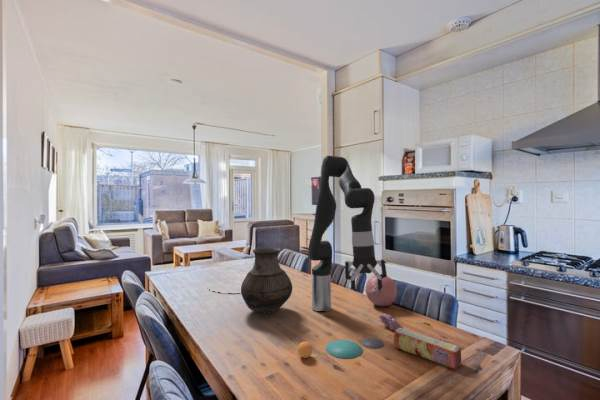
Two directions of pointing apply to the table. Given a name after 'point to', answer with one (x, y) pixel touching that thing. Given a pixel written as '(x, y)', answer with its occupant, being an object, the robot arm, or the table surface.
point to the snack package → (428, 348)
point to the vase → (266, 283)
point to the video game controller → (389, 322)
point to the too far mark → (372, 343)
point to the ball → (304, 349)
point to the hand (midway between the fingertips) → (366, 290)
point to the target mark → (344, 349)
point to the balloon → (381, 291)
